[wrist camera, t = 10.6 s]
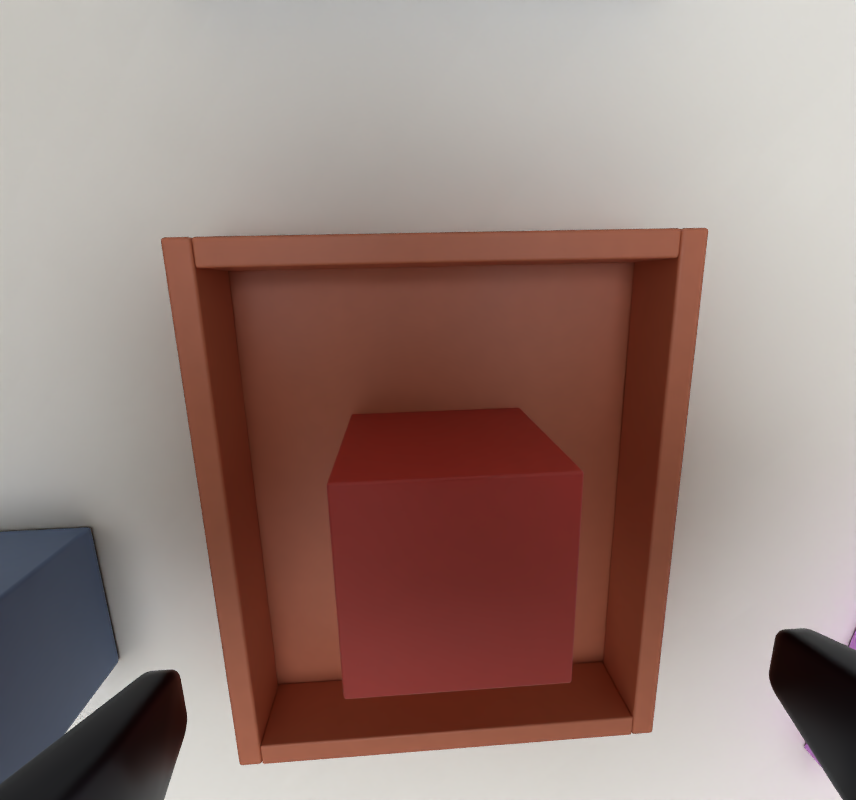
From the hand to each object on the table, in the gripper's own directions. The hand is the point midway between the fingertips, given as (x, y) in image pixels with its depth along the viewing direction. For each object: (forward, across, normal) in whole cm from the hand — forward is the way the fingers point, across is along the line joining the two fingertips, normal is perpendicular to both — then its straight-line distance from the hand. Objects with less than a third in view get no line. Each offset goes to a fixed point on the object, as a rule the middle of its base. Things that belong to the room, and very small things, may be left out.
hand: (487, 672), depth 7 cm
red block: (+6, 0, 0) cm, 6 cm away
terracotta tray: (+7, 0, 0) cm, 7 cm away
